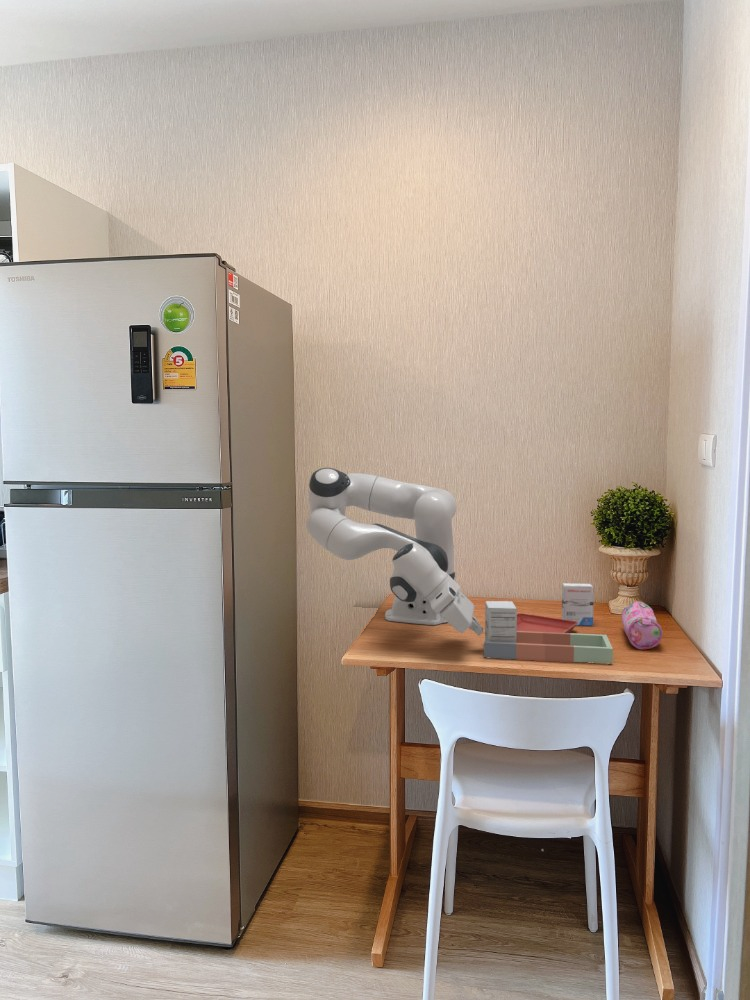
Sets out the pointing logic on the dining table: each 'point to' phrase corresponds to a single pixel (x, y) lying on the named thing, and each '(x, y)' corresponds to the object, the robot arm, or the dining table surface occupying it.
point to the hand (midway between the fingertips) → (481, 632)
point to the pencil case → (641, 626)
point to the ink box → (578, 603)
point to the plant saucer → (543, 624)
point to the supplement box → (500, 621)
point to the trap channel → (553, 647)
